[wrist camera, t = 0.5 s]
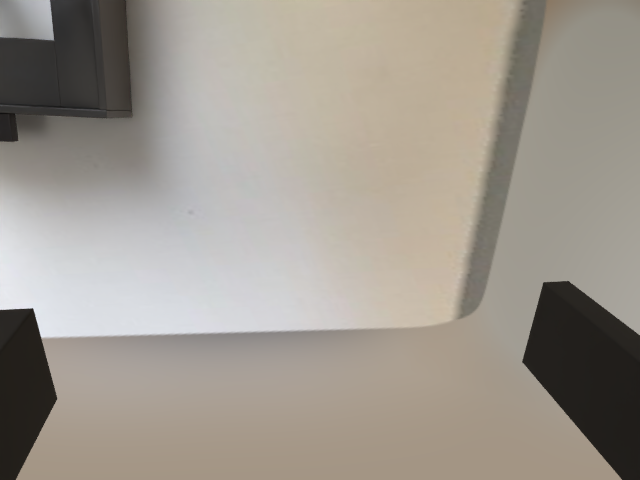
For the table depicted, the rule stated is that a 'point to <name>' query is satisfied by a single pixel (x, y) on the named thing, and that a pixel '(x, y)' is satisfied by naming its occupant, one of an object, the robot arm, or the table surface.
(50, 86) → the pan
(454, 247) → the table surface
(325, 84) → the table surface
